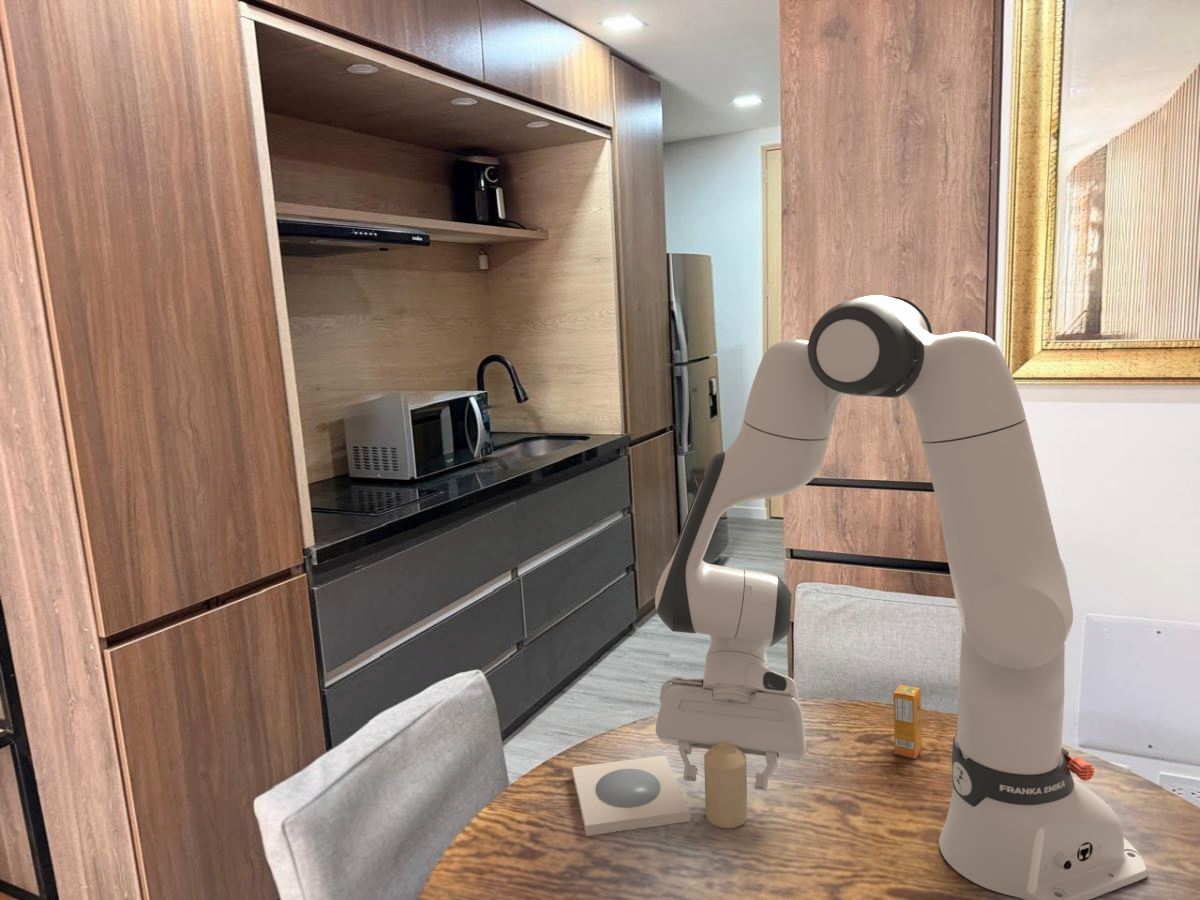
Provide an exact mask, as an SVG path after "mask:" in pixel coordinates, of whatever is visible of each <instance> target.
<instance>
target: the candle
mask: <svg viewBox="0 0 1200 900" xmlns="http://www.w3.org/2000/svg"><path fill="white" fill-rule="evenodd" d="M746 756H747V755H746V754H744V753H743V752H741V751H740V750H739V749H738V748H736V747H735V746H734V745H733V744H732V743H730V742H721V743H718V744H717V745H716V746H714V747H712V748H711V749H707V751H706V752H705V753H704V756H703V757H704V758H703V761H704V762H703V763H704V764H703V766H704V768H703V769H704V799H705V800H704V802H705V803H704V804H705V807H704V808H705V816H706V819H707V821H708V822H709V823H710V824H711V825H712V826H715V827H717V828H721V829H736V828H739V827H741V826H742V825H744V824H745V823H746V821H747V818H748V790H747V788H748V786H747V785H748V781H747V757H746Z"/></svg>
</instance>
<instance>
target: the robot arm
mask: <svg viewBox="0 0 1200 900" xmlns="http://www.w3.org/2000/svg"><path fill="white" fill-rule="evenodd" d="M929 320H930V319H929V318H928V316H927V314H925V312H924V311H923V310H922V309H921V308H920V307H919V306H918V305H916V304H915V303H913V302H912V301H910V300H909V299H907V298H906V299H905V298H903V297H899V296H890V295H888V296H885V295H876V294H875V295H866V296H861V297H857V298H854V299H851V300H846V301H843V302H840V303H837V304H836V305H834V306H832V307H831V308H830V309H828V310H827V311H826V312H825V313H823V315H822V316H820V318H819V319H818V320H817V322H816V323H815V324H814V326H813V327H812V328H813V329H812V330H811V332H810V335H809V338H808V340H806V339H798V338H797V339H796V338H795V339H786V340H782V341H780V342H776V343H774V344H773V345H771V346H769V348H767V350H766V351H765V352H764V354H763V356H762V358H761V361H760V363H759V365H758V368H757V370H756V373H755V376H754V379H753V381H752V385H751V388H750V391H749V395H748V398H747V403H746V407H745V411H744V416H743V421H742V426H741V428H740V431H739V433H738V434H737V437H736V438H735V440H734V441H733V442H732V444H731V445H730V446H729V447H728V448H727V449H726V450H725V451H722V452H719V453H716V454H714V455H713V457H712V458H711V459H710V461H709V462H708V464H707V466H706V468H705V470H704V472H703V473H702V477H701V479H700V482H699V483H698V487H697V489H696V492H695V493H694V496H693V499H692V500H691V504H690V506H689V509H688V512H687V515H686V518H685V520H684V523H683V525H682V528H681V531H680V533H679V536H678V538H677V542H676V544H675V546H674V548H673V551H672V554H671V557H669V561H668V563H667V565H666V567H665V568H664V570H663V572H662V573H661V576H660V578H659V581H658V584H657V586H656V591H655V597H654V603H655V604H654V605H655V612H656V614H657V615H658V618H660V620H661V621H662V622H663V624H664V625H665V626H666V627H667V628H668V629H669V630H670V631H672V632H675V633H684V634H686V633H687V634H696V633H697V634H701V635H708V636H709V637H710V639H709V640H710V641H709V648H708V650H707V652H706V655H705V661H704V671H703V678H702V679H701V678H683V677H679V676H674V677H672V679H668V680H666V681H665V682H664V683H662V685H661V687H660V693H659V701H660V707H659V710H658V714H657V718H656V723H655V733H656V734H655V735H656V736H657V738H658V739H659V740H660V741H661V743H662V744H664V745H671V746H678V752H679V754H680V757H681V760H682V762H683V764H684V767H683V768H684V769H683V770H684V771H683V779H684V780H685V781H688V782H689V781H690V782H697V777H698V776H697V775H698V770H699V769H698V766H696V764H691V762H690V760H689V757H688V755H689V756H690V755H692V751H693V750H692V749H693V748H694V749H695V748H696V749H705V750H710V749H711V748H712V747H714V746H716V745H717V744H718V743H721V742H730V743H732V744H733V745H734V746H735V747H736V748H738V749H739V750H740V751H741V752H743V753H744V755H752V756H753V755H754V756H761V757H765V762H766V764H767V765H766V767H765V768H764V769H763V771H762V773H755V781H754V789H755V791H761V792H768V788H769V787H768V785H769V779H770V777H771V776H772V775H773V773H774V772H775V771H776V769H777V767H778V766H779V765H778V764H779V763H778V762H779V761H778V760H779V759H785V760H793V761H800V760H801V759H802V758H803V757H804V756H805V755H806V743H807V742H806V732H805V731H806V730H805V729H806V728H805V722H804V717H803V711H802V708H801V706H800V704H799V689H798V685H797V683H796V680H794V679H793V678H791V677H789V676H786V675H784V674H781V673H778V672H776V671H775V670H771V669H769V668H768V666H769V665H768V663H769V662H768V659H767V648H768V647H773V646H775V644H777V643H779V642H780V641H781V640H782V639H784V638H785V637H787V636H788V634H789V632H790V628H791V626H790V625H791V610H792V609H791V608H792V607H791V606H792V595H793V594H792V591H790V589H789V587H788V586H787V584H786V583H785V582H784V581H783V579H781V578H780V576H776V575H773V574H771V573H766V572H761V571H757V570H749V569H746V568H745V569H741V568H736V567H730V566H723V565H718V564H713V563H712V564H711V563H709V562H706V561H704V560H703V559H704V557H705V555H706V552H707V549H708V547H709V544H710V541H711V539H712V536H713V535H714V532H715V529H716V527H717V524H718V522H719V520H720V518H721V516H722V515H723V514H724V513H725V512H727V511H729V510H730V509H731V508H734V507H735V506H739V505H741V504H745V503H748V502H752V501H756V500H762V499H768V498H775V497H781V496H784V495H787V494H790V493H793V492H794V491H797V490H799V489H801V488H803V487H804V486H806V485H807V484H808V483H810V482H811V481H812V480H813V479H814V478H815V477H816V476H817V475H818V474H819V471H820V470H821V468H822V466H823V462H824V460H825V457H826V453H827V450H828V446H829V443H830V438H831V434H832V429H833V424H834V419H835V415H836V412H837V409H838V406H839V405H840V404H839V403H840V402H841V399H843V397H844V396H845V395H850V396H856V397H857V396H858V397H877V398H878V397H879V398H890V399H891V398H892V399H893V398H899V397H904V398H905V399H906V400H907V402H908V404H909V405H910V406H911V409H912V411H913V415H914V417H915V421H916V424H917V428H918V433H919V436H920V441H921V444H922V448H923V452H924V456H925V460H926V461H925V462H926V463H927V468H928V472H929V476H930V479H931V483H932V487H933V492H934V495H935V499H936V503H937V508H938V511H939V512H938V513H939V517H940V524H941V529H942V530H941V531H942V535H943V541H944V547H945V551H946V552H945V553H946V556H947V557H946V558H947V562H948V567H949V572H950V579H951V583H952V589H953V592H954V597H955V601H956V602H955V603H956V606H957V611H958V615H959V618H960V622H961V631H960V632H961V635H960V636H961V637H960V652H959V653H960V654H959V668H958V669H959V670H958V683H957V685H958V686H957V687H958V689H957V690H958V691H957V723H956V724H957V725H956V734H955V736H954V737H953V740H952V753H951V754H952V755H951V780H952V792H951V798H950V804H949V807H948V808H949V809H948V812H947V816H946V819H945V823H944V825H943V828H942V830H941V833H940V836H939V839H938V845H939V850H940V852H941V854H942V856H943V858H944V860H945V861H946V862H947V863H948V864H949V865H950V866H951V867H952V868H953V869H954V871H956V872H957V873H959V874H960V875H961V876H963V877H964V878H966V879H968V881H971V882H972V883H975V884H976V885H978V886H981V887H982V888H984V889H988V890H991V891H994V892H996V893H999V894H1002V895H1007V896H1011V897H1016V898H1020V899H1023V900H1091V899H1095V898H1097V897H1100V896H1102V895H1105V894H1108V893H1110V892H1112V891H1115V890H1118V889H1120V888H1123V887H1126V886H1129V885H1131V884H1134V883H1136V882H1138V881H1141V880H1144V879H1146V878H1147V876H1148V869H1147V865H1146V863H1145V861H1144V858H1143V857H1142V856H1141V854H1140V853H1139V851H1138V850H1137V849H1136V847H1134V846H1133V845H1132V844H1131V842H1129V841H1128V840H1127V838H1125V836H1124V832H1123V828H1122V824H1121V822H1120V820H1119V817H1118V815H1116V813H1115V812H1114V810H1113V808H1111V807H1110V806H1109V805H1108V803H1107V802H1105V800H1103V799H1102V797H1100V796H1099V795H1097V794H1096V793H1094V792H1093V790H1091V789H1089V788H1088V787H1087V786H1086V785H1084V784H1082V783H1081V782H1080V781H1079V780H1077V779H1076V778H1074V777H1073V775H1072V773H1073V774H1074V775H1076V776H1077V778H1079V779H1080V780H1081V781H1084V782H1085V781H1089V780H1091V779H1092V777H1094V775H1095V774H1094V773H1095V767H1094V766H1093V765H1092V764H1090V763H1088V762H1087V761H1085V760H1084V759H1083V758H1082V757H1079V756H1075V757H1072V756H1071V755H1070V753H1069V751H1068V750H1067V749H1065V748H1064V747H1063V746H1062V745H1063V744H1062V743H1063V730H1064V729H1063V728H1064V713H1065V712H1064V710H1065V708H1064V707H1065V652H1066V649H1065V647H1066V644H1065V643H1066V641H1067V639H1068V637H1069V635H1070V633H1071V631H1072V630H1071V629H1072V627H1073V621H1074V610H1073V609H1074V608H1073V604H1072V598H1071V594H1070V589H1069V583H1068V582H1069V581H1068V578H1067V577H1068V576H1067V571H1066V567H1065V565H1064V562H1063V560H1062V558H1061V557H1060V556H1061V555H1060V552H1059V548H1058V544H1057V539H1056V536H1055V535H1056V534H1055V531H1054V526H1053V522H1052V519H1051V514H1050V509H1049V505H1048V501H1047V495H1046V493H1045V488H1044V483H1043V480H1042V477H1041V476H1042V475H1041V472H1040V468H1039V464H1038V463H1039V462H1038V461H1037V456H1036V452H1035V449H1034V444H1033V441H1032V436H1031V432H1030V427H1029V425H1028V420H1027V416H1026V413H1025V410H1024V406H1023V403H1022V399H1021V396H1020V393H1019V390H1018V388H1017V384H1016V382H1015V379H1014V377H1013V375H1012V372H1011V369H1010V368H1009V366H1008V363H1007V360H1006V359H1005V357H1004V355H1003V353H1002V351H1001V349H1000V347H999V346H998V345H997V343H996V341H994V340H993V339H992V338H991V337H989V336H987V335H985V334H982V333H977V332H974V331H973V332H972V331H957V332H951V333H947V334H941V335H937V334H933V330H932V325H931V322H930V321H929Z"/></svg>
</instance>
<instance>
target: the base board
mask: <svg viewBox="0 0 1200 900" xmlns="http://www.w3.org/2000/svg"><path fill="white" fill-rule="evenodd" d="M572 779H573V783H574V788H575V791H576V796H577V801H578V806H579V810H580V815H581V819H582V824H584V825H583V827H584V833H585V837H589V836H595V835H596V836H597V835H603V834H608V833H609V834H610V833H617V832H616V831H618V832H623V830H625V831H631V830H638V828H639V829H644V828H652V827H660V826H666V825H672V824H680V823H681V824H682V823H688V822H691V811H690V808H689V806H688V804H687V801H686V799H685V797H684V795H683V793H682V790H681V788H680V786H679V783H678V782H677V779H676V776H675V774H674V772H673V769H672V767H671V765H670V762H669V761H668V758H667V756H666V754H664V755H658V756H650V757H648V756H647V757H643V758H634V759H627V760H618V761H610V762H604V763H603V762H602V763H594V764H589V765H579V766H573V767H572Z"/></svg>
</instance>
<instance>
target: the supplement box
mask: <svg viewBox="0 0 1200 900" xmlns="http://www.w3.org/2000/svg"><path fill="white" fill-rule="evenodd" d="M921 693H922V692H921V688H920V687H915V686H909V685H904V684H903V685H902V684H899V685H898V686H897V688H896V689H895V691H894V692H893V693H892V694H893V695H892V696H893V697H892V699H893V729H894V730H893V733H894V734H893V735H894V754H895V755H898V756H901V757H905V758H910V759H915V760H916V759H917V757H918V756H919V754H920V753H921V751H922V744H923V743H922V742H923V741H922V696H921V695H922V694H921Z"/></svg>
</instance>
